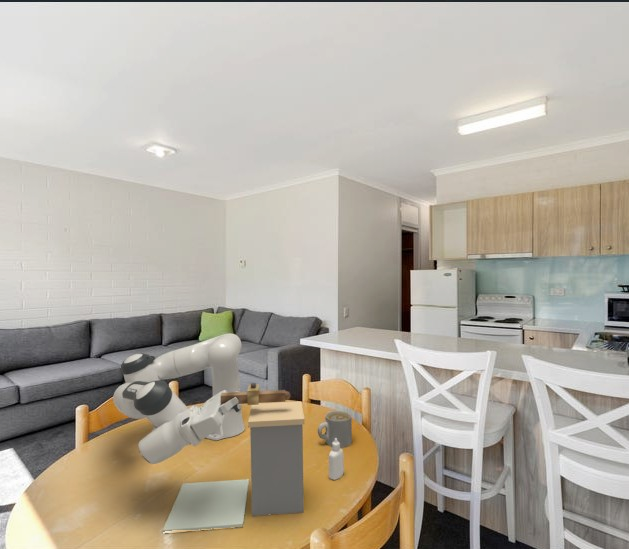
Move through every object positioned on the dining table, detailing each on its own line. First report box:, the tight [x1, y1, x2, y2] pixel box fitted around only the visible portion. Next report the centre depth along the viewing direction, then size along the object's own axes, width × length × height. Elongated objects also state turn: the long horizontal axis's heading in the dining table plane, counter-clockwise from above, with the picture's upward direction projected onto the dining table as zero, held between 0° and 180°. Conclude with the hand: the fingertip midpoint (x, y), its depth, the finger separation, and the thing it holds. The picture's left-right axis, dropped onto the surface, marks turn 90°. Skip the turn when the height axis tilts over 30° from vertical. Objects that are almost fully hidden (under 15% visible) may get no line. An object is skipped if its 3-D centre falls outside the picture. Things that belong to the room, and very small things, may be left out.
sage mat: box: [162, 478, 250, 533], centre depth 103 cm, size 20×20×1 cm
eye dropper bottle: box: [328, 438, 345, 481], centre depth 117 cm, size 4×6×12 cm
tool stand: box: [247, 400, 305, 517], centre depth 105 cm, size 15×13×26 cm
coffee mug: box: [317, 410, 353, 449], centre depth 140 cm, size 13×10×10 cm
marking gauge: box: [221, 382, 292, 406], centre depth 104 cm, size 20×5×5 cm, turn 96°
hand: (238, 396), depth 104 cm, fingers closed on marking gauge, 2 cm apart
